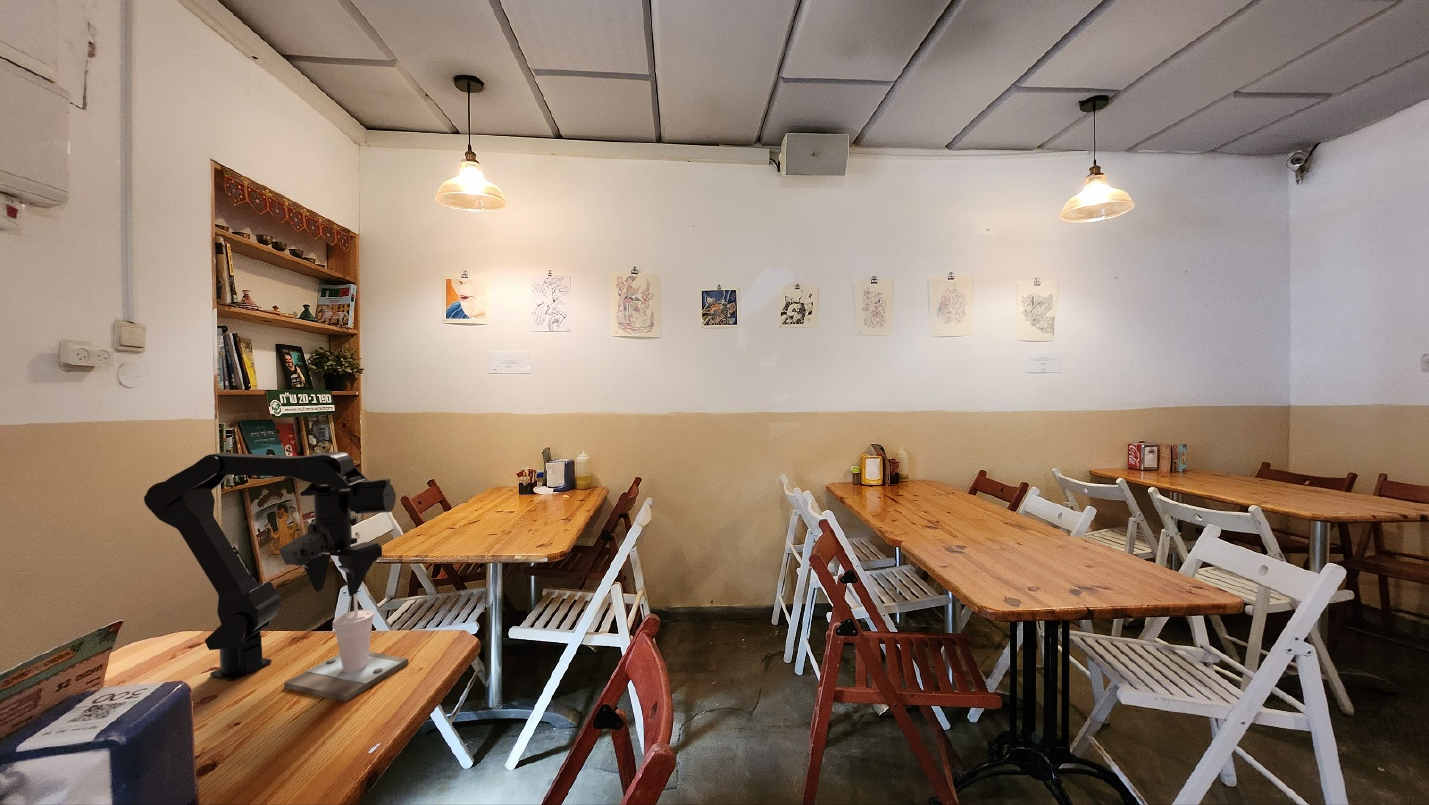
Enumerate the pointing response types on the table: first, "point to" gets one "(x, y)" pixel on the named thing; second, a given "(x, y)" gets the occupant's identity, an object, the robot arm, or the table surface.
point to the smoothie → (354, 637)
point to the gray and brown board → (344, 677)
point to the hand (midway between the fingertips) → (335, 593)
